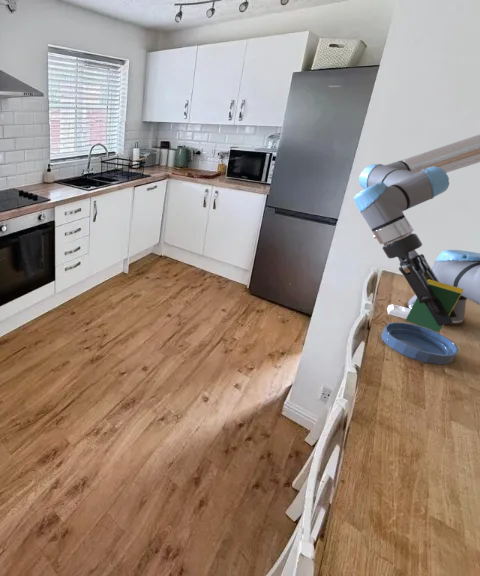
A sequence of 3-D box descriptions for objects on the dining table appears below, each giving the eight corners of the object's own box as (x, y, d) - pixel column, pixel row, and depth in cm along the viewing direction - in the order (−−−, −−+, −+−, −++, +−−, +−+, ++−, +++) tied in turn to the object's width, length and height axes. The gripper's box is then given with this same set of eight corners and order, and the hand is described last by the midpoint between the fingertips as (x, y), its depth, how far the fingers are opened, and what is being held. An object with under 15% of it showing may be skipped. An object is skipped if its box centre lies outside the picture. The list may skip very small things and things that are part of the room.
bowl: (389, 325, 120) (394, 316, 118) (457, 351, 109) (463, 341, 107) (373, 343, 110) (377, 334, 108) (445, 373, 99) (451, 363, 97)
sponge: (409, 315, 100) (428, 279, 95) (442, 327, 95) (464, 289, 90) (405, 320, 97) (424, 283, 92) (438, 332, 93) (460, 294, 88)
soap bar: (420, 323, 122) (423, 317, 121) (387, 315, 126) (390, 308, 125) (418, 317, 126) (422, 311, 125) (386, 309, 130) (389, 303, 129)
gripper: (391, 240, 104) (437, 314, 100) (371, 252, 94) (421, 335, 90) (422, 227, 98) (473, 306, 94) (405, 238, 88) (460, 327, 84)
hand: (447, 320), depth 92 cm, fingers closed on sponge, 4 cm apart
